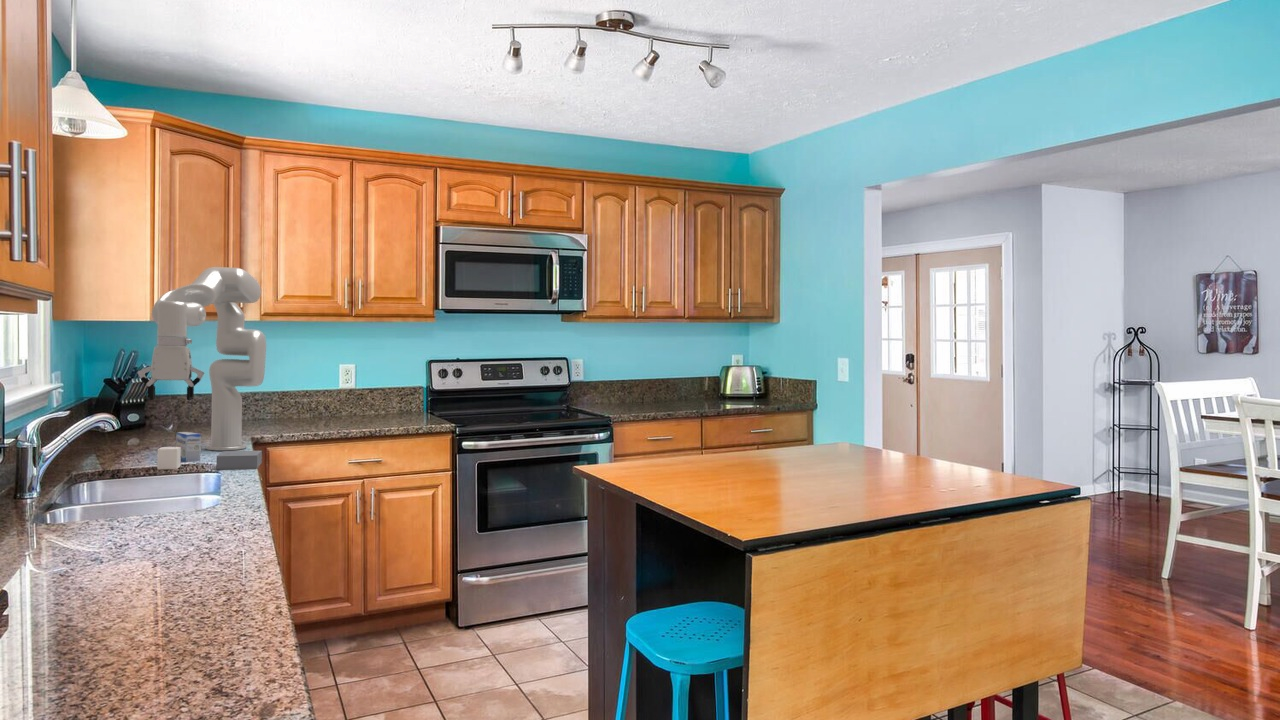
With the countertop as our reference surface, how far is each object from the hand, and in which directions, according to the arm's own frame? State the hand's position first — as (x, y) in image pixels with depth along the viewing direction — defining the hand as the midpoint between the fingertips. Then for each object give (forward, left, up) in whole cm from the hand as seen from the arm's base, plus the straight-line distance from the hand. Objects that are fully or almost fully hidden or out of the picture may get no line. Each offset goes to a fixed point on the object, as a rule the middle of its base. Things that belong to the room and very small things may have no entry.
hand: (170, 399), depth 235 cm
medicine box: (-16, +2, -21) cm, 26 cm away
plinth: (0, +19, -20) cm, 28 cm away
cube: (0, 0, -21) cm, 21 cm away
